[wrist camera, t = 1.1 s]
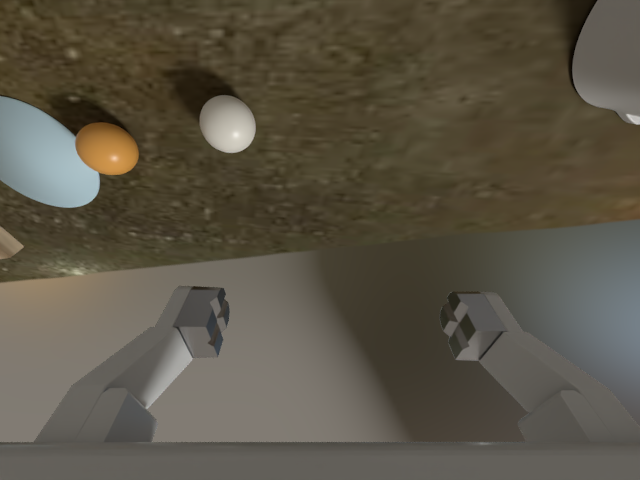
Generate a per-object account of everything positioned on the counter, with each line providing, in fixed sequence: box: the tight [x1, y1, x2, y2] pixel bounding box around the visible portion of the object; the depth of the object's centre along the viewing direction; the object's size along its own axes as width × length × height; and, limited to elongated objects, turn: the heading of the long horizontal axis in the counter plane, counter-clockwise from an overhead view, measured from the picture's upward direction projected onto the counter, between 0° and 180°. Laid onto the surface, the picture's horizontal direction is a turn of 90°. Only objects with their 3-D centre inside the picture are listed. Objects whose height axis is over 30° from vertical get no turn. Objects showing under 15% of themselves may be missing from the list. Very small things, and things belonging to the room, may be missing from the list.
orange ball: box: [75, 122, 139, 175], centre depth 30 cm, size 6×6×6 cm
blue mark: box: [0, 96, 100, 208], centre depth 33 cm, size 14×14×1 cm
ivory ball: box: [200, 95, 256, 153], centre depth 28 cm, size 6×6×6 cm
